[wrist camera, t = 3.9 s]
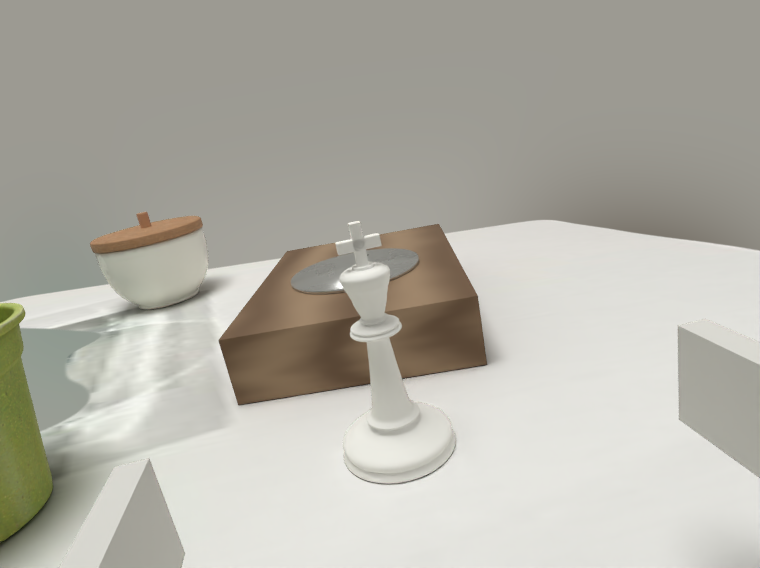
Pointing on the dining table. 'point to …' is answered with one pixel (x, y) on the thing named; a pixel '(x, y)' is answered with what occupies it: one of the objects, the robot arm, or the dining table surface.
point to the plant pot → (18, 433)
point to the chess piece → (386, 384)
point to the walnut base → (352, 319)
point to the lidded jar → (154, 260)
